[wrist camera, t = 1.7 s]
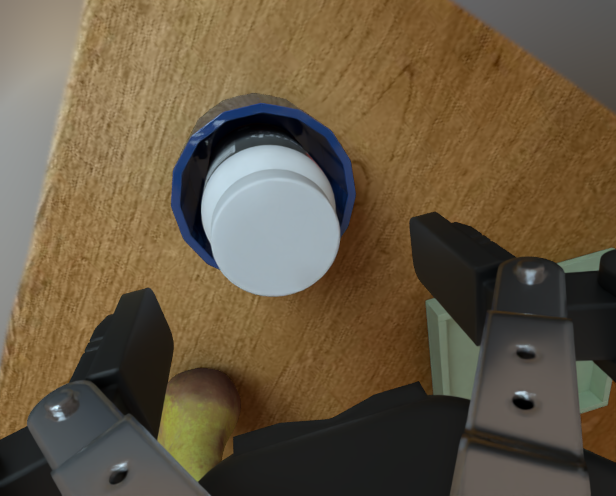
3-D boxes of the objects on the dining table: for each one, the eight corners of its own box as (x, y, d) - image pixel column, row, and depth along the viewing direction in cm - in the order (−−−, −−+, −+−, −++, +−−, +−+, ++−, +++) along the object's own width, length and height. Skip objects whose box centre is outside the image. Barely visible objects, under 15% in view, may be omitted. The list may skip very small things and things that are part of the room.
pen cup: (160, 114, 21) (141, 131, 17) (313, 77, 22) (338, 84, 17) (209, 251, 25) (205, 298, 20) (339, 217, 26) (365, 255, 21)
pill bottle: (326, 154, 24) (386, 213, 15) (277, 234, 25) (305, 330, 16) (237, 99, 22) (246, 131, 13) (189, 191, 23) (167, 275, 14)
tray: (425, 300, 30) (437, 315, 28) (612, 247, 31) (635, 258, 29) (436, 436, 37) (447, 455, 35) (589, 389, 38) (607, 405, 36)
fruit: (147, 362, 28) (99, 552, 17) (231, 343, 28) (235, 516, 18) (170, 419, 30) (140, 616, 20) (246, 401, 31) (258, 582, 20)
